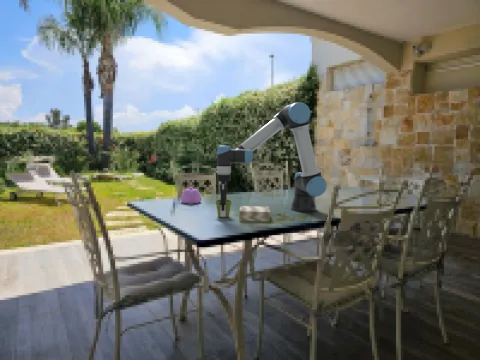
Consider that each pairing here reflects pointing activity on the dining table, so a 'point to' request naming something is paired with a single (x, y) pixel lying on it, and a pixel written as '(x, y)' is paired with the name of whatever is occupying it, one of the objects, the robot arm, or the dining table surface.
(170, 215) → the dining table surface
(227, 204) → the plant pot
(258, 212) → the birch pedestal block
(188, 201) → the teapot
